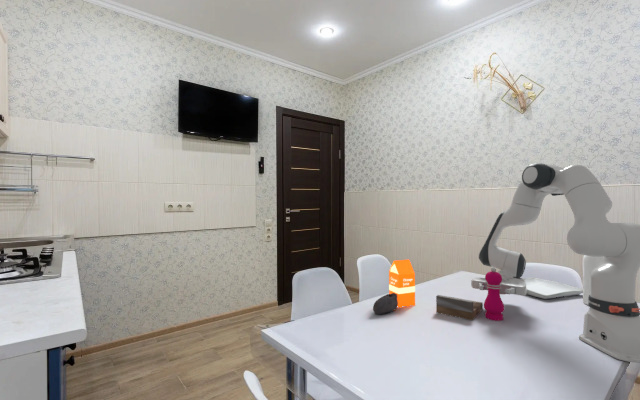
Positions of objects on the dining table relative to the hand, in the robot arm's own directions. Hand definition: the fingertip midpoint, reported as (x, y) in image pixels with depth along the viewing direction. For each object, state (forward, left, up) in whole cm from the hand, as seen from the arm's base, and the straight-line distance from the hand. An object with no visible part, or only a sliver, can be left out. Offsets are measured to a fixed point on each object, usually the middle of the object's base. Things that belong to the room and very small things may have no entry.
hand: (494, 290), depth 129 cm
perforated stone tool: (-1, +43, -11) cm, 44 cm away
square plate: (+45, -35, -12) cm, 58 cm away
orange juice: (+11, +35, -11) cm, 39 cm away
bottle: (+26, -49, -11) cm, 56 cm away
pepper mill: (-1, 0, -11) cm, 11 cm away
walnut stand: (+6, +12, -11) cm, 17 cm away
